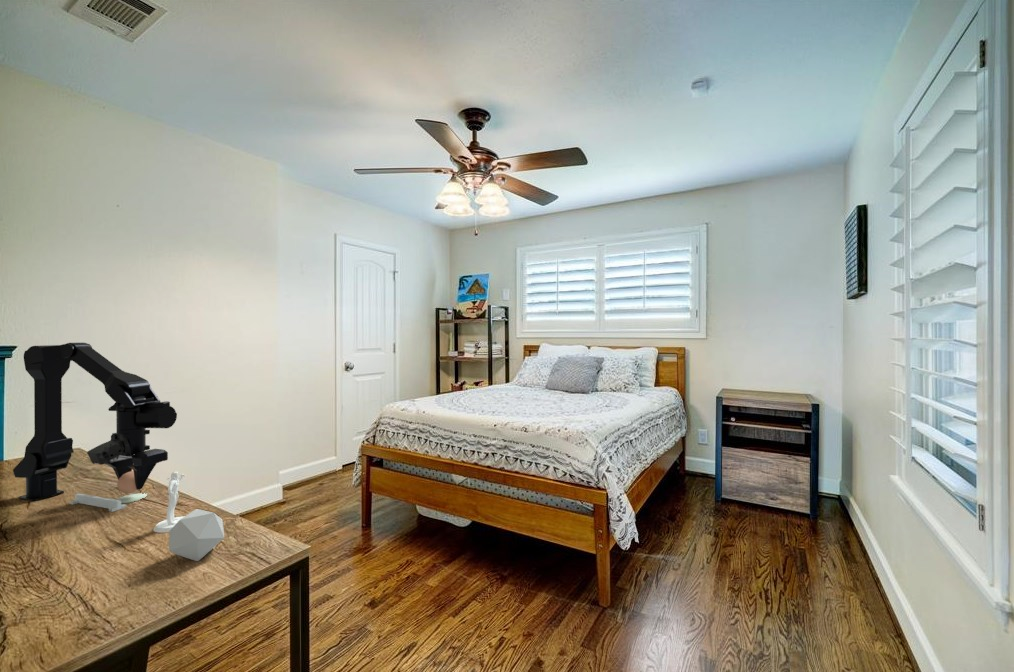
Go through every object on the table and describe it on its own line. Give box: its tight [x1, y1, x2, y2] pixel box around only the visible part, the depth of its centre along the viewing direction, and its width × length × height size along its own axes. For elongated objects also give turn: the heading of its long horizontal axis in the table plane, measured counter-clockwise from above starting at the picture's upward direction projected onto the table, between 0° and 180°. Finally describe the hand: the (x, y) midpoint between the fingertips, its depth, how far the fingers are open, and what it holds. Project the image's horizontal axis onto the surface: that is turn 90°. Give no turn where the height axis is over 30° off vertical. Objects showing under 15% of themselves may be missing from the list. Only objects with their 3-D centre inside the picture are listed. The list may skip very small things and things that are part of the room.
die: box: [168, 508, 225, 562], centre depth 84 cm, size 8×9×10 cm
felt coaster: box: [115, 492, 148, 505], centre depth 114 cm, size 6×6×1 cm
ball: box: [116, 470, 141, 494], centre depth 114 cm, size 6×6×6 cm
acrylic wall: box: [69, 493, 127, 513], centre depth 109 cm, size 16×3×2 cm, turn 72°
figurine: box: [153, 471, 186, 534], centre depth 98 cm, size 7×7×12 cm
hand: (131, 488), depth 114 cm, fingers closed on ball, 5 cm apart
